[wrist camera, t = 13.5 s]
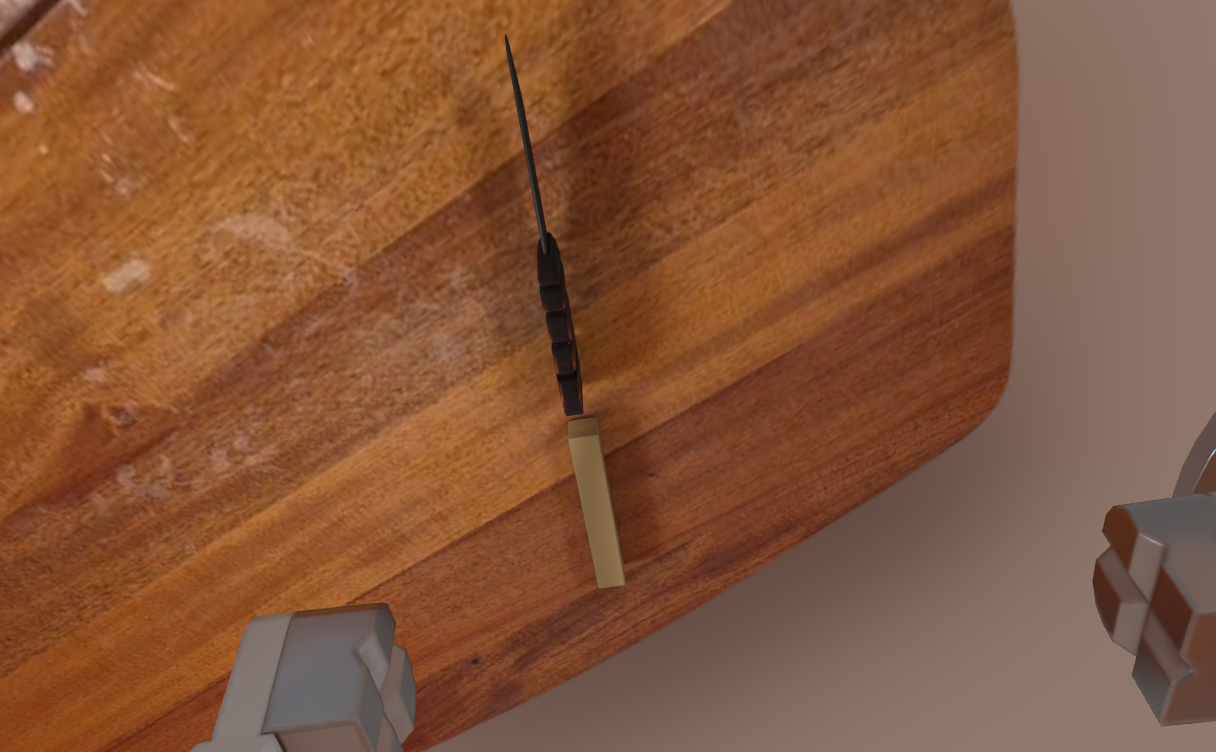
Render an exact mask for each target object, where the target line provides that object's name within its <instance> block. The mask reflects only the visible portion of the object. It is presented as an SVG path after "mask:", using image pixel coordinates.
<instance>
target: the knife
mask: <svg viewBox="0 0 1216 752" xmlns="http://www.w3.org/2000/svg"><path fill="white" fill-rule="evenodd" d="M505 43H506V51H507V57H508V62H509V68H510V73H511V79H512V84H513V90H514V95H515V101H516V106H517V112H518V117H519V123H520V128H521V134H522V139H523V145H524V150H525V156H526V161H527V167H528V172H529V178H530V183H531V189H532V194H533V200H534V205H535V211H536V216H537V222H538V227H539V233H540V240H539V241H538V254H537V270H538V281H539V283H540V295H541V301H542V306H543V309H544V311H546V321H547V327H548V332H549V338H550V342H552V354H553V359H554V364H555V370H556V373H557V380H558V386H559V391H560V396H561V400H562V404H563V408H564V412H565V414H566V416H571V415H579V414H583V396H582V381H581V377H580V363H579V358H578V352H577V347H576V340H575V334H574V328H573V322H572V319H571V311H570V305H569V299H568V294H567V291H566V287H565V275H564V269H563V264H562V262H561V259H560V251H559V248H558V246H557V243H556V240H555V239H554V238H553V236H552V235H551V233H548V232H547V230H546V225H545V219H544V214H543V209H542V203H541V198H540V192H539V187H538V181H537V176H536V170H535V165H534V159H533V154H532V148H531V143H530V137H529V132H528V126H527V121H526V116H525V110H524V105H523V99H522V95H521V91H520V86H519V82H518V78H517V74H516V70H515V66H514V62H513V58H512V54H511V50H510V46H509V42H508V39H507V36H506V35H505Z"/></svg>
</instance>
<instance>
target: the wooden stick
mask: <svg viewBox="0 0 1216 752" xmlns="http://www.w3.org/2000/svg"><path fill="white" fill-rule="evenodd" d="M568 441H569V445H570V450H571V455H572V460H573V465H574V470H575V475H576V480H577V485H578V490H579V495H580V499H581V504H582V509H583V514H584V519H585V524H586V529H587V534H588V539H589V544H590V549H591V554H592V558H593V563H594V568H595V573H596V578H597V583H598V587H599V588H607V587H614V586H622V585H625V571H624V563H623V557H622V552H621V546H620V540H619V535H618V529H617V524H616V518H615V512H614V507H613V501H612V496H611V490H610V484H609V479H608V473H607V467H606V462H605V456H604V451H603V445H602V439H601V434H600V428H599V423H598V418H597V417H592V418H585V419H577V420H570V421H568Z"/></svg>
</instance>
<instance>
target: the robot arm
mask: <svg viewBox="0 0 1216 752" xmlns="http://www.w3.org/2000/svg"><path fill="white" fill-rule="evenodd" d="M1102 532H1103V533H1104V535H1105V537H1106V538H1107V540H1108V542H1109V543H1110V545H1111V546H1110V547H1109V548H1108V549H1107V550H1106V551H1105V552H1104V553H1103V554H1101V555H1100V556H1099V557H1098V558H1097V559H1096V563H1095V570H1094V576H1093V587H1094V594H1095V602H1096V606H1097V609H1098V612H1099V615H1100V617H1101V620H1102V623H1103V625H1104V627H1105V628H1106V630H1107V632H1108V634H1109V636H1110V638H1111V639H1112V641H1113V642H1114V643H1116V644H1117V645H1119V646H1120V647H1122V648H1124V649H1125V650H1127V651H1128V652H1130V653H1132V654H1133V655H1135V656H1136V660H1135V664H1134V668H1133V672H1132V676H1133V678H1134V680H1135V682H1136V683H1137V685H1138V687H1139V688H1140V690H1141V692H1142V694H1143V695H1144V697H1145V699H1146V701H1147V702H1148V704H1149V706H1150V708H1151V709H1152V711H1153V713H1154V714H1155V716H1156V718H1157V719H1158V721H1159V723H1160V725H1161V726H1169V725H1180V724H1191V723H1201V722H1211V721H1216V492H1211V493H1206V494H1204V495H1203V494H1194V495H1187V496H1180V497H1173V498H1166V499H1159V500H1152V501H1146V502H1139V503H1131V504H1124V505H1117V506H1113V507H1112V508H1111V509H1110V511H1109V512H1108V513H1107V514H1106V517H1105V522H1104V526H1103V530H1102ZM395 625H396V622H395V620H394V617H393V615H392V613H391V611H390V608H389V606H388V604H386V603H372V604H362V605H353V606H343V607H334V608H324V609H315V610H305V611H297V612H292V613H283V614H274V615H265V616H255V617H254V618H253V619H252V620H251V621H250V623H249V624H248V625H247V627H246V628H245V630H244V633H243V637H242V640H241V643H240V646H239V650H238V653H237V656H236V659H235V663H234V666H233V669H232V673H231V676H230V679H229V682H228V686H227V689H226V692H225V695H224V699H223V702H222V705H221V708H220V712H219V715H218V718H217V722H216V725H215V728H214V731H213V735H212V738H211V741H208V742H202V743H197V744H196V745H195V746H194V747H193V748H192V749H191V750H190V751H189V752H404V751H403V749H402V746H401V744H402V743H403V742H404V741H405V739H406V738H407V737H408V736H409V734H410V733H411V732H412V731H413V729H414V719H415V709H416V702H415V681H414V676H413V671H412V666H411V662H410V659H409V656H408V653H407V651H406V648H404V647H402V646H401V645H399V644H398V643H396V642H394V641H393V639H394V632H395Z"/></svg>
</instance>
